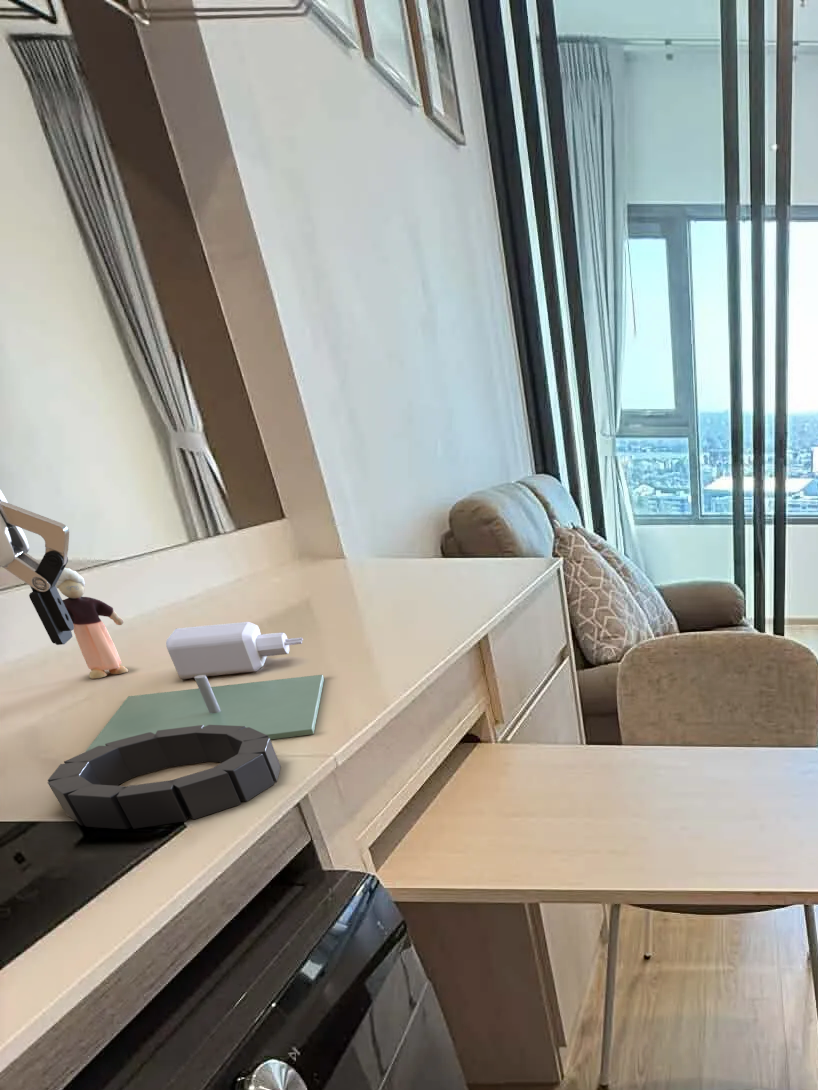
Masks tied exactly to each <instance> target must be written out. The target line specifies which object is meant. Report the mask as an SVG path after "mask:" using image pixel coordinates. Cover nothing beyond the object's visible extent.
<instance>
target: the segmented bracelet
mask: <svg viewBox="0 0 818 1090" xmlns="http://www.w3.org/2000/svg"><path fill="white" fill-rule="evenodd" d="M105 745H106V746H97V747H95V748H93V749H91V750H88V751H86V750H85V751H86V752H85V751H84V752H81V753H80V754H78V755H75V756H73V757H71V758H69V759H67V760H64V761H63V763H60V764H59V765H58V766H57V768H56V769H55V771H54V772H53V773H52V774H51V775H50V777H49V778H48V779H47V784H48V786H49V788H50V790H51V792H52V793H53V795H54V797H55V798H56V800H57V802H58V804H59V805H60V807H61V809H62V811H63V812H64V814H65V815H66V816H67V817H68V818H70V819H72V820H73V821H74V822H76V823H77V824H78V825H80V827H81V826H82V827H83V826H84V827H86V828H97V829H112V830H113V829H115V830H129V829H130V828H132V829H133V830H137V829H144V828H151V827H157V826H163V825H170V824H171V825H172V824H178V823H185V822H187V821H188V819H189V818H190V819H192V820H198V819H200V818H203V817H206V816H209V815H213V814H215V813H218V812H222V811H224V810H228V809H231V808H234V807H237V806H239V805H242V803H241V802H245V803H246V802H248V801H250V800H251V799H253V798H254V797H257V796H258V795H259V794H261V793H262V792H264V791H266V790H267V789H269V788H271V787H272V786H273V785H275V783H276V782H278V778H279V775H280V771H281V768H282V767H281V763H280V761H279V758H278V756H277V753H276V750H275V748H274V745H273V744H272V740H270V738H269V737H268V735H266V734H263V733H261V732H259V731H257V730H255V729H252V728H250V727H247V728H246V727H245V726H228V725H207V726H205V727H204V726H203V725H198V726H190V727H182V728H174V729H166V730H158V731H157V732H156V734H154V733H152V732H148V733H144V734H140V735H137V736H133V737H129V738H125V739H121V740H117V741H114V742H110V743H106V744H105ZM202 763H219V764H217V765H216V766H213V767H211V768H208V769H204V770H201V771H198V772H193V773H191V774H187V775H184V776H180V777H177V778H174V779H170V780H162V781H155V782H146V783H139V784H134V785H133V784H132V785H122V784H123V783H125V782H127V781H129V780H131V779H133V778H135V777H139V776H143V775H147V774H150V773H153V772H157V771H160V770H164V769H168V768H171V767H180V766H187V765H194V764H202Z"/></svg>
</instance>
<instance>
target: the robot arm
mask: <svg viewBox="0 0 818 1090" xmlns="http://www.w3.org/2000/svg"><path fill="white" fill-rule="evenodd" d="M24 530H26V531H28V532H31V533H33V534H36V535H38V536H40V537H41V538H42V539H43V541H44V547H45V551H44V555H43V556H42V558H41V560H40V561H39V560H37V559H36V558H35V557H33V556H32V555H30V554H29V553H28V552H29V551H30V544H29V542H28V538H27V536H26V534H25V532H24ZM69 543H70V529H69V527H68V526H67V525H66V524H64V523H62V522H59V521H57V520H54V519H51V518H49V517H46V516H44V515H42V514H38V513H36V512H33V511H31V510H28V509H25V508H23V507H20V506H17V505H14V504H12V503H9V502H8V500H7V498H6V497H5V494H4V493H3V491H2V490H1V489H0V568H1V567H2V568H3V569H5V570H6V571H7V572H9V573H11V574H12V575H13V576H15V577H17V578H18V579H19V580H20V581H22V582H24V583H25V584H27V585H28V586H30V589H31V592H30V593H29V595H28V597H29V599H30V601H31V604H32V605H33V608H34V609H35V611H36V613H37V615H38V618H39V619H40V621H41V623H42V625H43V628H44V629H45V631H46V633H47V635H48V638H49V639H50V641H51V643H53V644H55V645H57V646H61V645H66V644H67V642H69V641H70V640H71V639H72V638H73V633H72V632H73V631H74V630H73V629H74V625H73V622H72V619H71V617H70V615H69V613H68V611H67V609H66V607H65V605H64V603H63V601H62V600H63V599H62V597H61V595H60V593H59V591H58V590H59V589H58V588H56V586H55V585H56V584H57V583H58V579H59V578H60V576H61V574H62V572H63V570H64V568H66V566H67V564H68V562H69V557H68V552H69V545H70V544H69Z"/></svg>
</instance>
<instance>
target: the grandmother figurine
mask: <svg viewBox="0 0 818 1090" xmlns="http://www.w3.org/2000/svg"><path fill="white" fill-rule="evenodd" d="M55 586H56V588H57V589H58V590H59V591H60V593H61V594H62V595H63V596H65V597H67V598H64V599H62V601H63V603H64V605H65V607H66V609H67V611H68V613H69V615H70V617H71V619H72V622H73V625H74V629H73V630H72V631H73V633H74V636H75V639H76V642H77V644H78V647H79V650H80V652H81V654H82V655H81V656H82V657H83V659H84V662H85V663H86V665H87V668H88V669H89V670H90V672H89V675H88V676H89V679H92V680H93V679H94V680H95V679H101V678H105V677H107V676H108V674H107V672H106V671H108V672H109V673H110V674H111V675H120V674H121V675H122V674H125V673H129V669H128V668H127V667H125V666H124V665H122V663H123V662H122V660H121V657H120V655H119V652H118V650H117V647H116V645H115V643H114V641H113V639H112V637H111V635H110V633H109V631H108V628H107V627H106V625H105V623H104V621H102V620H101V618H100V617H107V618H109V619H110V620H112V621H113V622H114V624H115V625H117V626H122V625H123V624H124V619H123V617H121V616H119V615H118V613H117V612H116V611H115V610H114V608H113V606H111V605H110V604H107V602H105V601H103V600H100V599H97V598H94V597H90V596H83V595H84V594H85V587H86V582H85V579H84V577H83V576H82V575H80V574H79V573H78V571H76V570H72V569H71V568H70V567H65V568H64V570H63V572H62V574H61V576H60V578H59V579H58V583H57V584H56V585H55Z"/></svg>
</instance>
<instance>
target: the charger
mask: <svg viewBox="0 0 818 1090" xmlns="http://www.w3.org/2000/svg"><path fill="white" fill-rule="evenodd" d="M303 641H304V637H293V638H288V636H287V634H286V633H285V632H284V631H283V632H272V633H271V632H270V633H261V630H260V628H259V625H258V624H255V623H253V622H250V621H243V622H242V621H241V622H231V623H221V624H220V623H219V624H209V625H208V624H207V625H198V626H188V627H177V628H175V629H174V630H173V631H172V632H171V634H170V635H169V636H168V638H166V640H165V646H166V650H167V653H168V654H169V657H170V659H171V662H172V664H173V666H174V668H175V671H176V672H177V673H176V674H177V675H178V677H179V678H180V679H181V680H188V679H195V678H194V677H195V676H198V675H206V677H207V678H208V677H215V676H226V675H234V674H235V675H236V674H244V673H253V672H257V671H259V670H260V669H262V667H264V666H265V663H266V659H267V658H268V657H274V656H283V655H289V652H290V646H293V645H294V646H295V645H302V644H303Z"/></svg>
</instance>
